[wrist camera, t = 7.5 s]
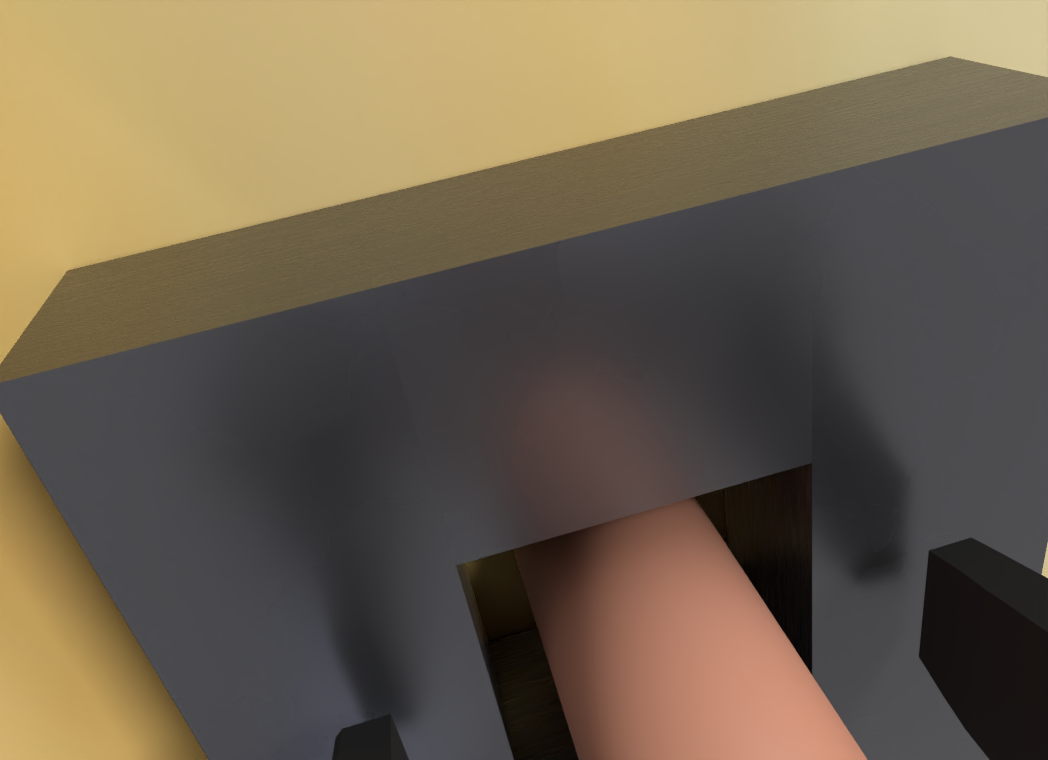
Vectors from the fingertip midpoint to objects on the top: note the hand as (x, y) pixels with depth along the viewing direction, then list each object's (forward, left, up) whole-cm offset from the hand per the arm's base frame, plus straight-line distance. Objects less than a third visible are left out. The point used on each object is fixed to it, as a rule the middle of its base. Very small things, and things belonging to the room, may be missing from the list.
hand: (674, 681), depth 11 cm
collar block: (0, 0, -4) cm, 4 cm away
